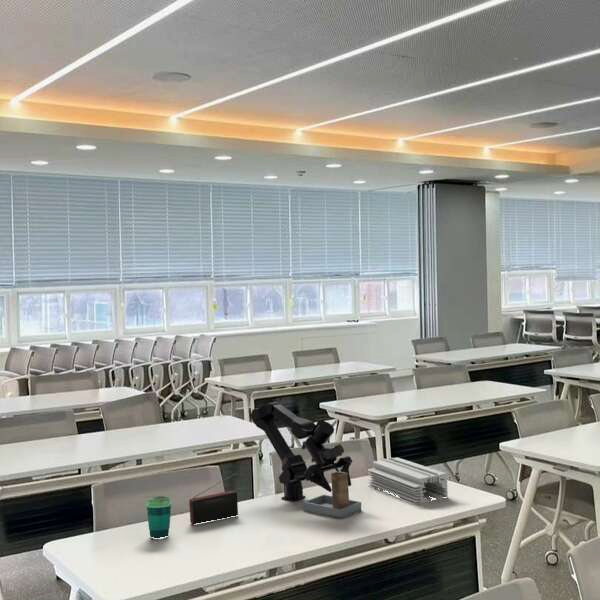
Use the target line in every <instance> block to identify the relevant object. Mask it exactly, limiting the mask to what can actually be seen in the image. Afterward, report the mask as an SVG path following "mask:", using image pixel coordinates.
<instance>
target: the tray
mask: <svg viewBox="0 0 600 600" xmlns="http://www.w3.org/2000/svg"><path fill="white" fill-rule="evenodd" d="M302 505H303V506H302V511H304V512H308V513H312V512H313V513H314V514H317V515H322V516H327V517H331V518H336V519H340V520H342V519H345V518H347V517H350V516H352V515H354V513H355V514H357V513H359V512H361V511H362V502H361V501H359V500H353V499H349V506H348V507H345V508H343V509H336V508H333V501H332V495H328V494H323V493H322V495H318V496H315V497H313V498H310V499H307V500H305V501H303V502H302ZM313 513H312V514H313Z"/></svg>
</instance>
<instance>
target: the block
mask: <svg viewBox="0 0 600 600" xmlns="http://www.w3.org/2000/svg"><path fill="white" fill-rule="evenodd" d="M330 476H331V477H330V478H331V489H332V491H331V496H332V501H333V508H336V509H343V508H345V507H348V506H349V500H350V496H349V495H350V494H349V492H350V491H349V486H348V473H345V472H341V471H339V472H337V471H335V472H332V473H331V474H330Z"/></svg>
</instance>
